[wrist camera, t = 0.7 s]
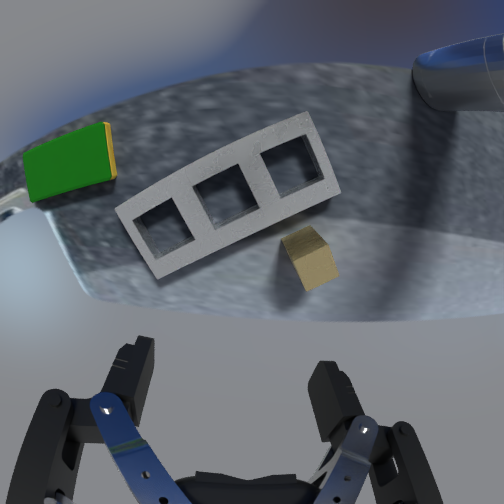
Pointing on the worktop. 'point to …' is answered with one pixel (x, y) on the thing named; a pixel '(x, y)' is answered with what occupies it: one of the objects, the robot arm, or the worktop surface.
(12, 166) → the worktop surface
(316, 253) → the brass peg
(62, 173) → the dish sponge
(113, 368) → the robot arm
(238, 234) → the rail plate
